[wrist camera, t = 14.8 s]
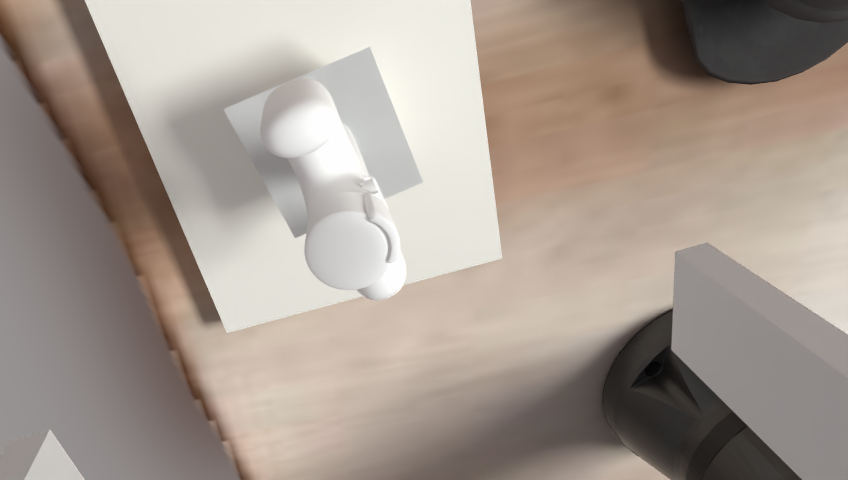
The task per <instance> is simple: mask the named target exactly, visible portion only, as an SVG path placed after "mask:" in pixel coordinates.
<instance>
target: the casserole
mask: <svg viewBox="0 0 848 480" xmlns="http://www.w3.org/2000/svg"><path fill="white" fill-rule="evenodd" d="M680 2H681V4H682V8H683V12H684V16H685V20H686V24H687V28H688V32H689V36H690V40H691V44H692V48H693V52H694V56H695V60H696V61H697V62H698V63H699V65H700V66H701V67H702V68H703V69H704V70H705V71H706V72H707V73H708V75H710V76H713V77H715V78H718V79H720V80H723V81H725V82H729V83H740V84H750V85H751V84H759V83H767V82H775V81H779V80H781V79H784V78H787V77H790V76H793V75H796V74H799V73H802V72H804V71H805V70H807V69H809V68H811V67H813V66H815V65H816V64H818V63H820V62H822V61H824V60H826V59H827V58H828V57H830V56H831V55H832V54H834V53H835V52H836V51H837V50H839V49H840V48H841V47H842V46H844V45H845V44H846V43H847V42H848V0H680Z"/></svg>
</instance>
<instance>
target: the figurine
mask: <svg viewBox="0 0 848 480" xmlns="http://www.w3.org/2000/svg"><path fill="white" fill-rule="evenodd" d="M223 110H224V111H225V113H226V115H227V117H228V119H229V120H230V122H231V124H232V126H233V128H234V129H235V131H236V133H237V135H238V137H239V138H240V140H241V142H242V144H243V146H244V147H245V149H246V151H247V153H248V155H249V156H250V158H251V160H252V162H253V164H254V165H255V167H256V169H257V171H258V173H259V174H260V176H261V178H262V180H263V181H264V183H265V185H266V187H267V189H268V190H269V192H270V194H271V196H272V198H273V199H274V201H275V203H276V205H277V207H278V208H279V210H280V212H281V214H282V216H283V217H284V219H285V221H286V223H287V225H288V226H289V228H290V230H291V232H292V234H293V235H294V237H295V238H297V237H299V236H302V235H304V234H306V239H305V246H304V254H305V259H306V262H307V265H308V267H309V269H310V270H311V272H312V273H313V274H314V275H315V277H316V278H317V279H319V280H320V281H321V282H323V283H324V284H326V285H328V286H330V287H333V288H336V289H341V290H357V291H358V292H359V293H360V294H361V295H363V296H364V297H366V298H368V299H371V300H383V299H387V298H389V297H391V296H393V295H395V294H396V293H397V292H398V291H399V290H400V289H401V288H402V286H403V284H404V282H405V279H406V272H407V271H406V263H405V259H404V256H403V253H402V251H401V249H400V238H399V235H398V232H397V228H396V226H395V223H394V221H393V219H392V216H391V213H390V211H389V209H388V206H387V204H386V202H385V200H384V199H386V198H389V197H391V196H393V195H395V194H398V193H400V192H402V191H405V190H407V189H409V188H411V187H414V186H416V185H418V184H421V183H423V180H422V177H421V175H420V172H419V170H418V167H417V165H416V162H415V160H414V157H413V155H412V152H411V150H410V147H409V145H408V142H407V140H406V137H405V135H404V132H403V130H402V127H401V124H400V122H399V119H398V117H397V114H396V112H395V109H394V107H393V104H392V102H391V99H390V97H389V94H388V92H387V89H386V87H385V84H384V82H383V79H382V77H381V74H380V72H379V69H378V66H377V64H376V61H375V59H374V56H373V54H372V51H371V49H370V47H368V48H365V49H363V50H361V51H358V52H356V53H354V54H351V55H349V56H347V57H344V58H342V59H340V60H337V61H335V62H333V63H330V64H328V65H326V66H323V67H321V68H319V69H316V70H314V71H312V72H309V73H307V74H305V75H302V76H300V77H298V78H295V79H293V80H290V81H288V82H285V83H283V84H281V85H279V86H276V87H274V88H272V89H269V90H267V91H265V92H262V93H260V94H258V95H255V96H253V97H251V98H248V99H246V100H244V101H241V102H239V103H237V104H234V105H232V106H230V107H227V108H225V109H223Z"/></svg>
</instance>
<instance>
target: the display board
mask: <svg viewBox="0 0 848 480" xmlns="http://www.w3.org/2000/svg"><path fill="white" fill-rule="evenodd" d="M85 2H86V4H87V7H88V9H89V12H90V14H91V16H92V19H93V21H94V23H95V26H96V28H97V30H98V33H99V35H100V37H101V40H102V42H103V44H104V47H105V49H106V51H107V54H108V56H109V58H110V61H111V63H112V65H113V68H114V70H115V72H116V75H117V77H118V79H119V82H120V84H121V86H122V89H123V91H124V93H125V96H126V98H127V100H128V103H129V105H130V107H131V110H132V112H133V114H134V117H135V119H136V121H137V124H138V126H139V128H140V131H141V133H142V135H143V138H144V140H145V143H146V145H147V147H148V150H149V152H150V154H151V157H152V159H153V161H154V164H155V166H156V168H157V171H158V173H159V175H160V178H161V180H162V182H163V185H164V187H165V189H166V192H167V194H168V196H169V199H170V201H171V203H172V206H173V208H174V210H175V213H176V215H177V217H178V220H179V222H180V224H181V227H182V229H183V231H184V234H185V236H186V238H187V241H188V243H189V245H190V248H191V250H192V252H193V255H194V257H195V259H196V262H197V264H198V267H199V269H200V271H201V274H202V276H203V278H204V281H205V283H206V285H207V288H208V290H209V292H210V295H211V297H212V299H213V302H214V304H215V306H216V309H217V311H218V313H219V316H220V318H221V320H222V323H223V325H224V327H225V330H226V332H227V333H229V332H233V331H237V330H240V329H244V328H248V327H251V326H255V325H259V324H262V323H266V322H270V321H273V320H277V319H281V318H284V317H288V316H292V315H295V314H299V313H303V312H306V311H310V310H314V309H318V308H321V307H325V306H329V305H332V304H336V303H340V302H343V301H347V300H351V299H354V298H358V297H362V296H363V295H361V294H360V293H359V292H358V291H357V290H341V289H336V288H333V287H330V286H328V285H326V284H324V283H323V282H321V281H320V280H319V279H317V278H316V277H315V275H314V274H313V273H312V272H311V270H310V269H309V267H308V265H307V262H306V259H305V254H304V246H305V239H306V234H304V235H302V236H299V237H297V238H295V237H294V235H293V234H292V232H291V230H290V228H289V226H288V225H287V223H286V221H285V219H284V217H283V216H282V214H281V212H280V210H279V208H278V207H277V205H276V203H275V201H274V199H273V198H272V196H271V194H270V192H269V190H268V189H267V187H266V185H265V183H264V181H263V180H262V178H261V176H260V174H259V173H258V171H257V169H256V167H255V165H254V164H253V162H252V160H251V158H250V156H249V155H248V153H247V151H246V149H245V147H244V146H243V144H242V142H241V140H240V138H239V137H238V135H237V133H236V131H235V129H234V128H233V126H232V124H231V122H230V120H229V119H228V117H227V115H226V113H225V111H224V110H223V109H225V108H227V107H230V106H232V105H234V104H237V103H239V102H241V101H244V100H246V99H248V98H251V97H253V96H255V95H258V94H260V93H262V92H265V91H267V90H269V89H272V88H274V87H276V86H279V85H281V84H283V83H285V82H288V81H290V80H293V79H295V78H298V77H300V76H302V75H305V74H307V73H309V72H312V71H314V70H316V69H319V68H321V67H323V66H326V65H328V64H330V63H333V62H335V61H337V60H340V59H342V58H344V57H347V56H349V55H351V54H354V53H356V52H358V51H361V50H363V49H365V48H368V47H370V49H371V51H372V54H373V56H374V59H375V61H376V64H377V66H378V69H379V72H380V74H381V77H382V79H383V82H384V84H385V87H386V89H387V92H388V94H389V97H390V99H391V102H392V104H393V107H394V109H395V112H396V114H397V117H398V119H399V122H400V124H401V127H402V130H403V132H404V135H405V137H406V140H407V142H408V145H409V147H410V150H411V152H412V155H413V157H414V160H415V162H416V165H417V167H418V170H419V172H420V175H421V177H422V180H423V183H421V184H418V185H416V186H414V187H411V188H409V189H407V190H405V191H402V192H400V193H398V194H395V195H393V196H391V197H389V198H386V199H384V200H385V202H386V204H387V206H388V209H389V211H390V213H391V216H392V219H393V221H394V223H395V226H396V228H397V232H398V235H399V238H400V249H401V251H402V253H403V256H404V259H405V263H406V271H407V272H406V279H405V282H404V284H403V285H406V284H410V283H413V282H417V281H421V280H424V279H428V278H432V277H435V276H439V275H443V274H446V273H450V272H454V271H458V270H461V269H465V268H469V267H472V266H476V265H480V264H483V263H487V262H491V261H494V260H498V259H502V253H501V244H500V236H499V228H498V220H497V212H496V204H495V196H494V188H493V180H492V172H491V164H490V156H489V148H488V140H487V132H486V124H485V115H484V107H483V99H482V91H481V83H480V75H479V67H478V59H477V51H476V43H475V35H474V27H473V19H472V11H471V3H470V0H85Z"/></svg>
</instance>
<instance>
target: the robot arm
mask: <svg viewBox="0 0 848 480" xmlns="http://www.w3.org/2000/svg"><path fill="white" fill-rule="evenodd" d="M603 408H604V413H605V416H606V419H607V421H608V422H609V424H610V425H611V427H612V428H613V430H614V431H615V433H616V434H617V435H618V437H619V438H620V440H621V441H622V442H623V443H624V445H625V446H626V447H627V448H628V449H629V450H631V451H632V452H633V453H634V454H636V455H637V456H639V457H641V458H642V459H643V460H645V461H646V462H647V463H649V464H650V465H651V466H653V467H654V468H655V469H657V470H658V471H659V472H661V473H662V474H664V475H665V476H666V477H668V478H669V479H671V480H848V335H847V334H846V333H844V332H843V331H841V330H840V329H838V328H837V327H835V326H834V325H832V324H831V323H829V322H828V321H826V320H825V319H823V318H821V317H820V316H818V315H817V314H815V313H814V312H812V311H811V310H809V309H808V308H806V307H805V306H803V305H802V304H800V303H799V302H797V301H796V300H794V299H792V298H791V297H789V296H788V295H786V294H785V293H783V292H782V291H780V290H779V289H777V288H776V287H774V286H773V285H771V284H770V283H768V282H766V281H765V280H763V279H762V278H760V277H759V276H757V275H756V274H754V273H753V272H751V271H750V270H748V269H747V268H745V267H744V266H742V265H741V264H739V263H737V262H736V261H734V260H733V259H731V258H730V257H728V256H727V255H725V254H724V253H722V252H721V251H719V250H718V249H716V248H715V247H713V246H712V245H710V244H708V243H704V244H700V245H697V246H693V247H690V248H686V249H683V250H679V251H676V252H675V271H674V296H673V311H671V312H669V313H667V314H665V315H663V316H661V317H660V318H658V319H656V320H655V321H653V322H652V323H651V324H649V325H648V326H647V327H645V328H644V329H643V330H642V331H640V332H639V333H638V334H637V335H636V336H635V337H634V338H633V339H632V340H631V341H630V342H629V343H628V344H627V346H626V347H625V348H624V349H623V350H622V352H621V353H620V354H619V356H618V357H617V359H616V361H615V362H614V364H613V366H612V368H611V370H610V372H609V374H608V377H607V379H606V383H605V386H604V391H603ZM0 480H84V478H83V477H82V475H81V474H80V472H79V471H78V469H77V468H76V466H75V465H74V464H73V462H72V461H71V459H70V458H69V456H68V455H67V453H66V452H65V451H64V449H63V448H62V446H61V445H60V443H59V442H58V440H57V439H56V438H55V436H54V435H53V433H52V432H51V430H46V431H43V432H39V433H36V434H32V435H29V436H25V437H22V438H18V439H15V440H11V441H8V442H7V444H6V446H5V447H4V449H3V451H2V453H1V454H0Z"/></svg>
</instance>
